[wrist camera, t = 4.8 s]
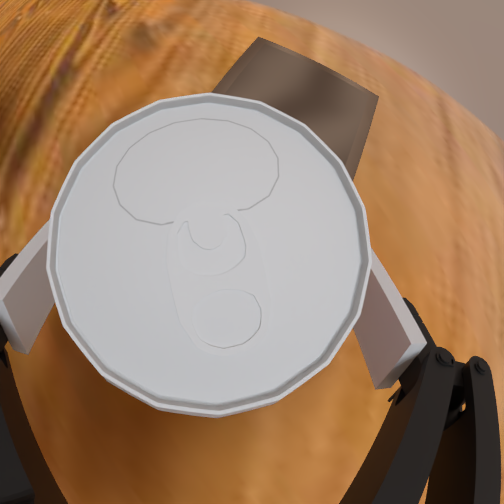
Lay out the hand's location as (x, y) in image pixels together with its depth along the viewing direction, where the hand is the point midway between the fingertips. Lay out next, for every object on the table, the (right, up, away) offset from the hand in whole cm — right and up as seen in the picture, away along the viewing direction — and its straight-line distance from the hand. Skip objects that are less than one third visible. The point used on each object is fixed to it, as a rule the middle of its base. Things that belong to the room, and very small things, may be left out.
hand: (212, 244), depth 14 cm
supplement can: (-2, -3, +7) cm, 8 cm away
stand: (+5, +10, +10) cm, 15 cm away
